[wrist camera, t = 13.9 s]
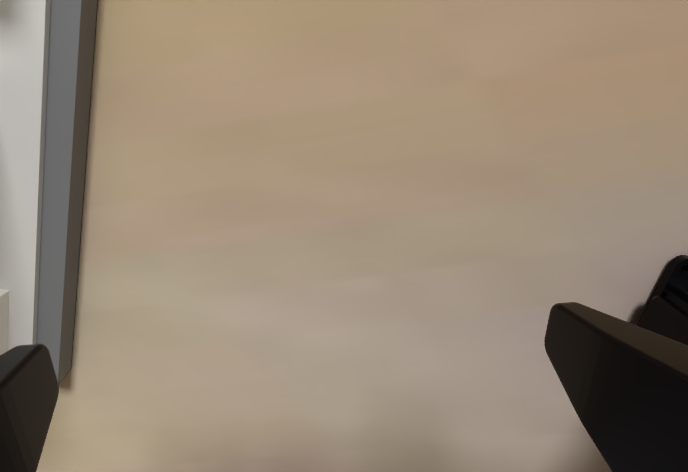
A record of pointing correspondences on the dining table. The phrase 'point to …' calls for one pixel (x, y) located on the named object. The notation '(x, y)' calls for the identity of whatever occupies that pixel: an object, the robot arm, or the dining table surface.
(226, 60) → the dining table surface
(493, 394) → the dining table surface
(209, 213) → the dining table surface
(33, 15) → the rail board
